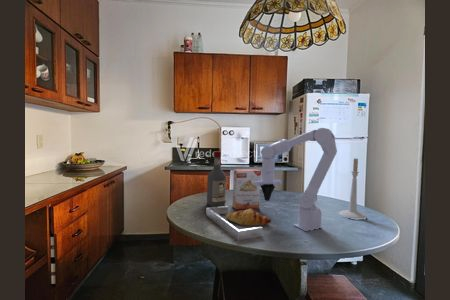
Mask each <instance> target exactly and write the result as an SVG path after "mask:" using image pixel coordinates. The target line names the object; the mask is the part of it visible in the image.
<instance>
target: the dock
mask: <svg viewBox="0 0 450 300" xmlns="http://www.w3.org/2000/svg"><path fill="white" fill-rule="evenodd" d="M205 209H206V210H205V211H206V214H205V215H206V217H208V218H209V219H211V220H212V221H213V222H215V223H216V224H217V225H218V226H219V227H221V228H222V229H223V230H224V231H225V232H227V233H228V234H230V235H231V237H233V238H234V239H235V240H237V241H243V240H249V239H254V238H255V239H256V238H262V237H263V234H264V233H263V231H264V229H263V228H264V227H263V226H253V227H248V228H242V229H239V228H237V227H236V226H234V225H233V223H230V222H229V221H228V220H226V219H224V218H223V217H222V216H221V215H226V214H229V206H227V205H224V206H220V207H212V206H210V207H206V208H205Z"/></svg>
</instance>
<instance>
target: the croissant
mask: <svg viewBox="0 0 450 300" xmlns="http://www.w3.org/2000/svg"><path fill="white" fill-rule="evenodd" d="M225 218H226V219H227V221H230V222H232V223H235V224H238V225H241V226H242V225H243V226H249V227H250V226H251V227H252V226H253V227H255V226H266V225H268V224H271V222H272V218H270V217H267V216H265V215H261V213H259V212H257V211H256V210H255V209H254V208H252V209H251V208H250V209H244V210H237V211H235V212H230V213H227V214H225Z"/></svg>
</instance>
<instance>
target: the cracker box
mask: <svg viewBox="0 0 450 300" xmlns="http://www.w3.org/2000/svg"><path fill="white" fill-rule="evenodd" d="M259 180H262V170H260V169H258V168H257V169H253V168H250V169H243V168H242V169H233V180H232V181H233V183H232V208H233V209H235V210H247V209H250V208H251V209H259V208H260V202H261V201H260V200H261V187H260V186H254V185H253V182H254V181H259Z"/></svg>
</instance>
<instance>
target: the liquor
mask: <svg viewBox="0 0 450 300" xmlns="http://www.w3.org/2000/svg"><path fill="white" fill-rule="evenodd" d="M213 156H214V160H213V161H214V162H213V168H212V170H211V171H210V172H209V173H208V174H207V178H206V179H207V183H206V184H207V185H206V204H207V206H210V207H220V206H226V201H227V199H226V194H227V193H226V192H227V175H226V173H225V172H224V171H223V169H222V167H221V157H222V151H218V150H216V151H214V153H213Z"/></svg>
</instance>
